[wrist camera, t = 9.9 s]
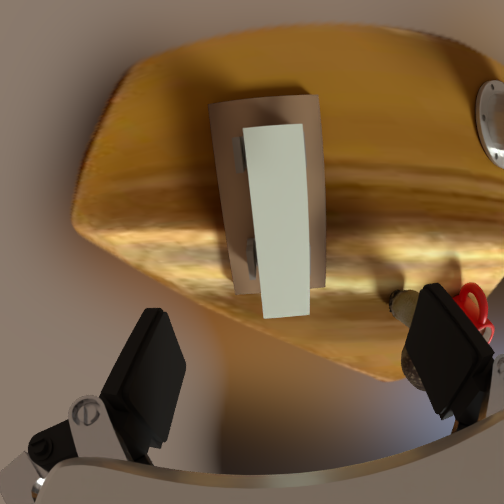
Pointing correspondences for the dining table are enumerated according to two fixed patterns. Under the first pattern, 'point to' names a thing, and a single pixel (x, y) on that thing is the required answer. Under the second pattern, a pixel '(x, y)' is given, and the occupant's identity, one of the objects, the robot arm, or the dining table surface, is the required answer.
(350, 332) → the dining table surface
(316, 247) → the board
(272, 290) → the pale grey rectangular block
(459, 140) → the dining table surface
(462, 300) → the mug
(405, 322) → the mushroom
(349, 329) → the dining table surface
